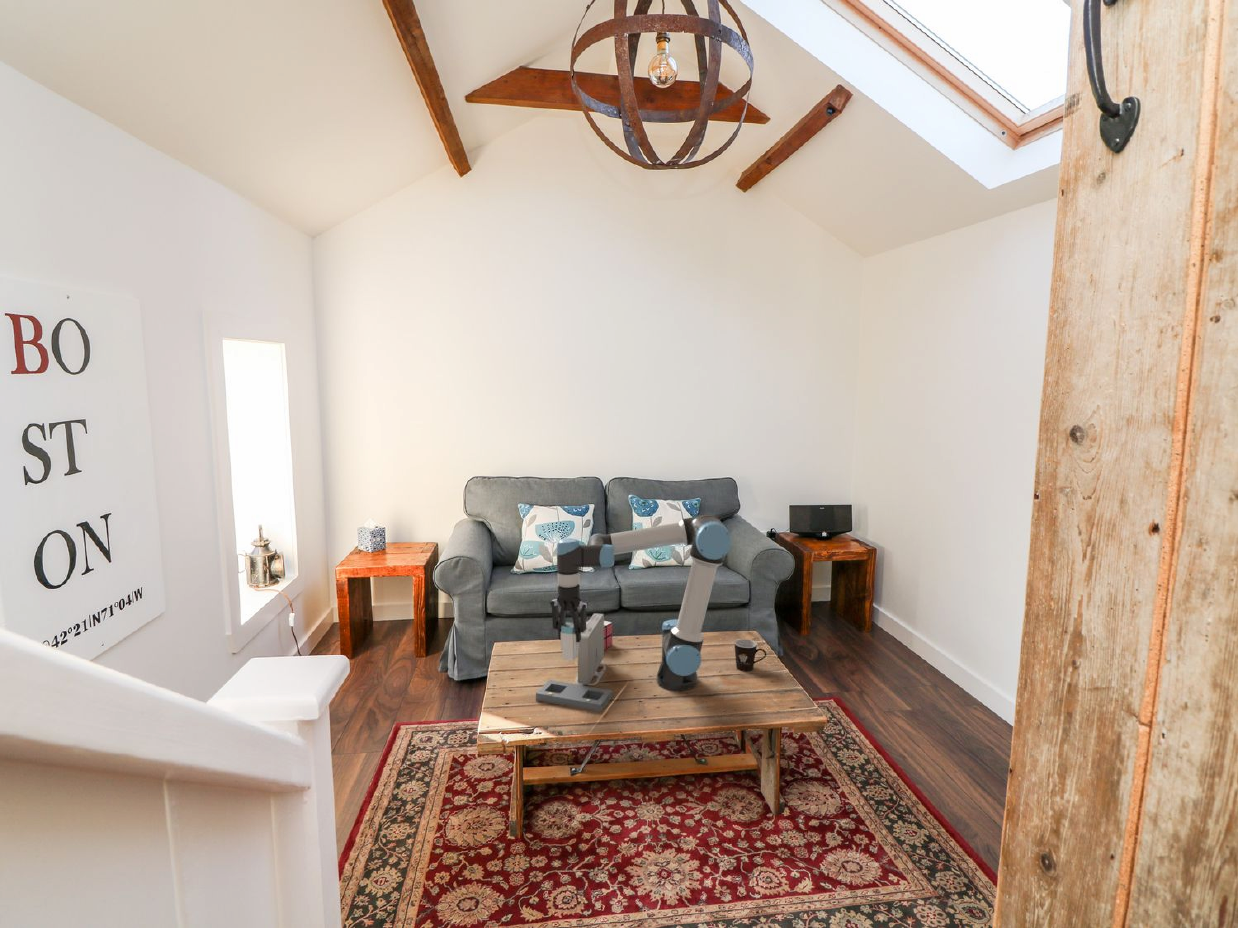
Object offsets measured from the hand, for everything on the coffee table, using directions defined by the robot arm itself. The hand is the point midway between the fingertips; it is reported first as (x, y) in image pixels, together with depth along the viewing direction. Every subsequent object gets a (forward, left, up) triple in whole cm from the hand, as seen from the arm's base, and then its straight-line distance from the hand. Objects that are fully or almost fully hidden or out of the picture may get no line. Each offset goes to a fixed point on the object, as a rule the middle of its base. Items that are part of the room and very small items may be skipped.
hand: (569, 649), depth 232 cm
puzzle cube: (+8, -46, -18) cm, 51 cm away
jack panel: (-2, 0, -18) cm, 18 cm away
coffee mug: (-55, -46, -18) cm, 74 cm away
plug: (0, 0, -3) cm, 3 cm away
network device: (0, -20, -18) cm, 27 cm away
